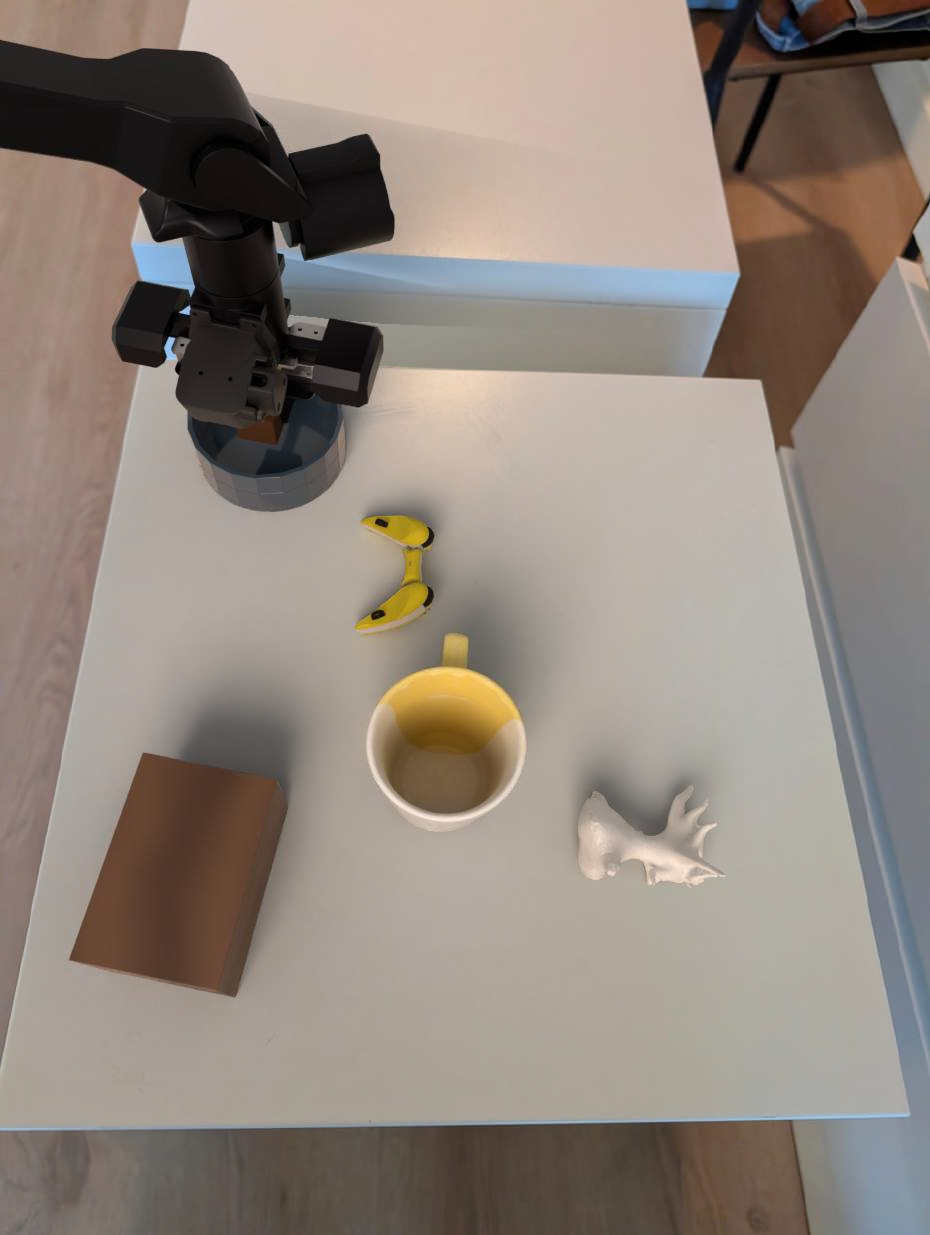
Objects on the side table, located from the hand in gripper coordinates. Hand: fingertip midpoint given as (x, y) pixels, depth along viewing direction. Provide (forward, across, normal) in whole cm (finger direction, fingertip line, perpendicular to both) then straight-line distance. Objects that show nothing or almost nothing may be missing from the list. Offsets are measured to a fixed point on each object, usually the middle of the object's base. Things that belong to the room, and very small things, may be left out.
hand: (265, 414), depth 74 cm
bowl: (+5, 0, 0) cm, 5 cm away
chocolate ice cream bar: (0, 0, +2) cm, 2 cm away
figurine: (+5, +35, -27) cm, 44 cm away
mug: (+5, +20, -24) cm, 32 cm away
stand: (+5, +5, -36) cm, 37 cm away
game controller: (+5, +13, -10) cm, 17 cm away
